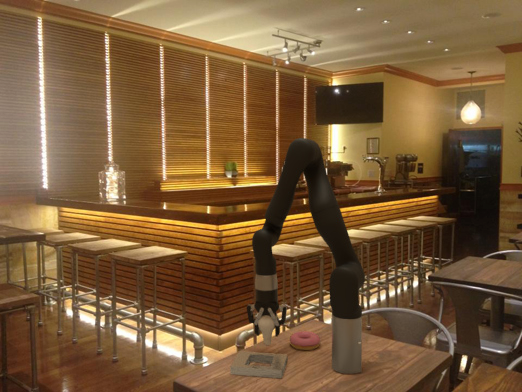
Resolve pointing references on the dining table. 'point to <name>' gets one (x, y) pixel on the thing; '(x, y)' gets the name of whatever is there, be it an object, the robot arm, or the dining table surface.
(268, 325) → the lightbulb
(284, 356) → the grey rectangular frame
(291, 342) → the doughnut
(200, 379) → the dining table surface
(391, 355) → the dining table surface
